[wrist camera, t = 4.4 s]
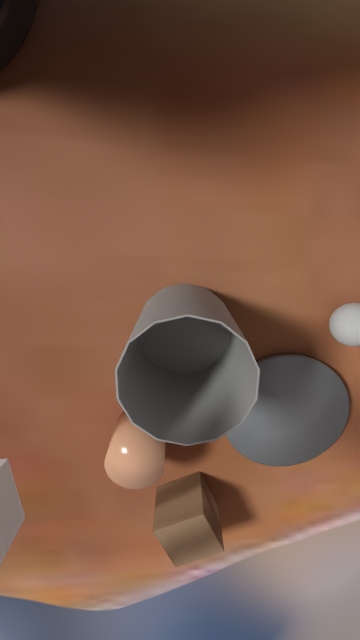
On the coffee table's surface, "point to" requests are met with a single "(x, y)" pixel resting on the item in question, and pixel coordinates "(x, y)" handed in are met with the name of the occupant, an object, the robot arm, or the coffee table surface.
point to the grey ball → (346, 324)
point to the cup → (186, 368)
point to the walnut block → (187, 520)
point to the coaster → (292, 412)
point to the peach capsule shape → (134, 456)
